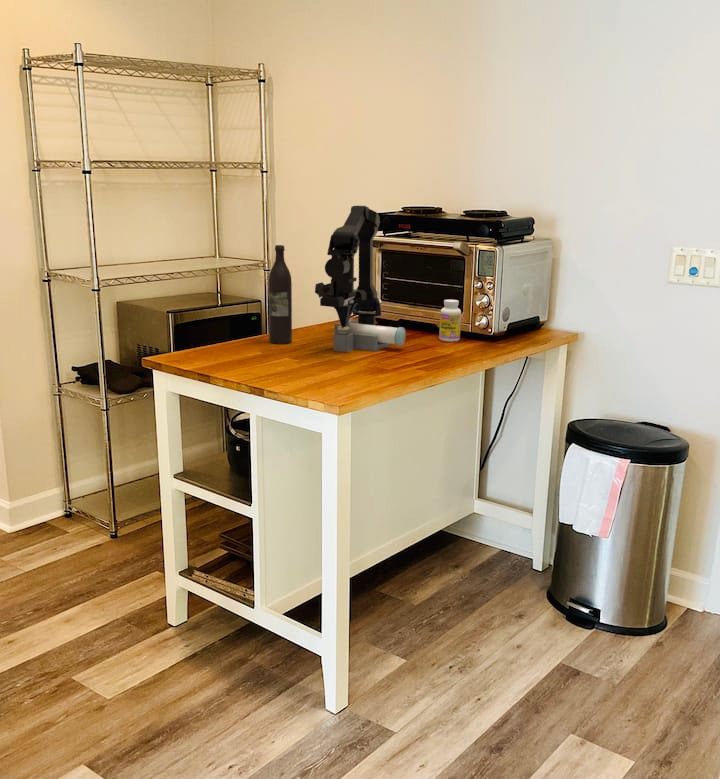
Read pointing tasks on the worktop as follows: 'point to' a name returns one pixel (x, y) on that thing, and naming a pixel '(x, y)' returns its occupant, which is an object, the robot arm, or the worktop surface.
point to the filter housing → (356, 341)
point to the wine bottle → (280, 300)
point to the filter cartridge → (380, 333)
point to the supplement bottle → (450, 321)
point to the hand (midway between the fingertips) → (343, 326)
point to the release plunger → (343, 330)
